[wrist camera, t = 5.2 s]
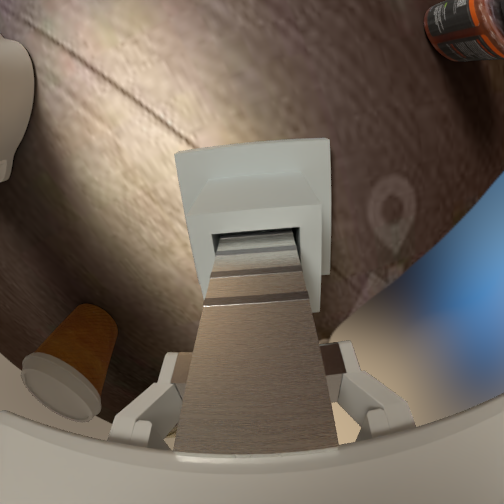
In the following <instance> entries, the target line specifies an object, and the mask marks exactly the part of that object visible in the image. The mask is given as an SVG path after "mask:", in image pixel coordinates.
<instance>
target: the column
mask: <svg viewBox="0 0 504 504" xmlns="http://www.w3.org/2000/svg"><path fill="white" fill-rule="evenodd" d="M338 448H339V444H338V438H337V433H336V427H335V421H334V416H333V411H332V405H331V400H330V395H329V390H328V385H327V380H326V375H325V370H324V365H323V360H322V356H321V351H320V346H319V342H318V337H317V332H316V328H315V323H314V319H313V315H312V310H311V306H310V302H309V295H308V291H307V289H306V285H305V281H304V277H303V270H302V266H301V264H300V260H299V256H298V252H297V247H296V245H295V241H294V237H293V231H292V229H291V228H279V229H266V230H254V231H242V232H231V233H221V235H220V241H219V245H218V249H217V251H216V255H215V261H214V265H213V269H212V272H211V275H210V281H209V285H208V289H207V294H206V298H205V299H204V303H203V311H202V315H201V319H200V324H199V328H198V333H197V337H196V341H195V346H194V350H193V355H192V360H191V364H190V369H189V374H188V378H187V383H186V388H185V393H184V398H183V403H182V407H181V413H180V418H179V423H178V428H177V433H176V438H175V444H174V449H173V452H174V453H175V454H176V455H180V456H192V457H209V458H266V457H283V456H296V455H306V454H315V453H322V452H330V451H336V450H338Z"/></svg>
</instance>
